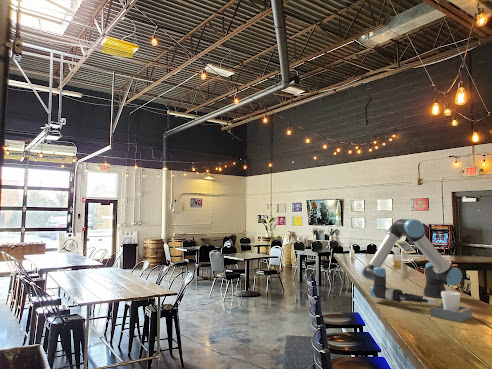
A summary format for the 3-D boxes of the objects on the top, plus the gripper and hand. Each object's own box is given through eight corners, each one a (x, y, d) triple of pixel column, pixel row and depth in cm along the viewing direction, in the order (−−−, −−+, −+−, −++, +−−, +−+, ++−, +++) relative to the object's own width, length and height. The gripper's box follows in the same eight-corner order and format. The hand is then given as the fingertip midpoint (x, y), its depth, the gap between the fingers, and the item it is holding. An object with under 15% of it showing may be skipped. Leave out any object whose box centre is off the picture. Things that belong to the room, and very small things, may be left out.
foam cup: (452, 319, 197) (451, 295, 199) (438, 314, 206) (437, 291, 207) (465, 317, 201) (464, 293, 202) (450, 313, 209) (449, 290, 210)
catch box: (441, 311, 214) (441, 301, 214) (471, 317, 202) (471, 306, 202) (430, 316, 203) (429, 305, 204) (461, 322, 191) (461, 311, 192)
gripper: (399, 299, 231) (438, 306, 213) (389, 302, 222) (429, 310, 205) (399, 287, 232) (438, 293, 214) (389, 290, 223) (429, 296, 205)
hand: (434, 301), depth 209 cm, fingers closed
